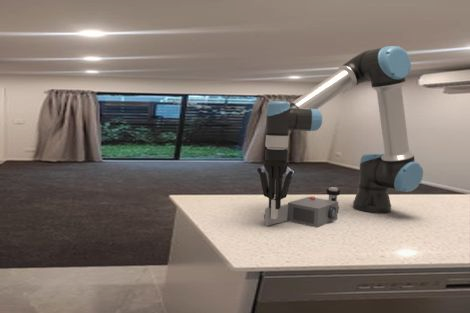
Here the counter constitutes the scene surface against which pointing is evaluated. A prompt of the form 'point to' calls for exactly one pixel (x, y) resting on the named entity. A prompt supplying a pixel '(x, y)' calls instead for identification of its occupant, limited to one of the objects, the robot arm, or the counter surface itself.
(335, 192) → the push button
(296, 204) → the housing
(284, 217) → the door
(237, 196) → the counter surface
